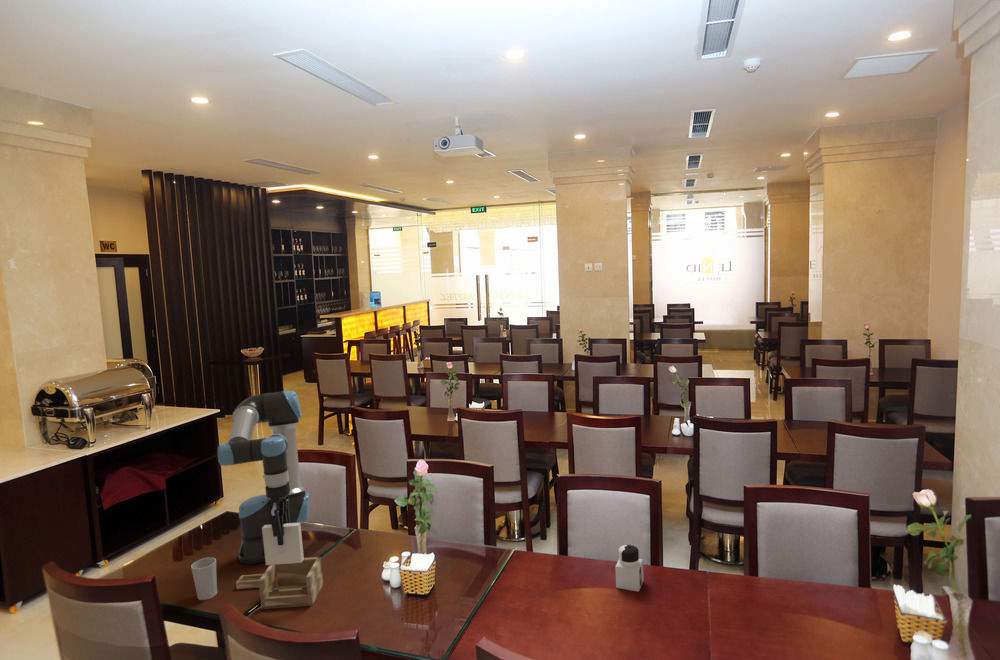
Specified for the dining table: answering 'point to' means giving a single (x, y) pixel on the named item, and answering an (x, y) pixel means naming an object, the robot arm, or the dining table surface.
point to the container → (629, 569)
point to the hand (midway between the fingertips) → (284, 550)
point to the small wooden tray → (248, 581)
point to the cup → (205, 578)
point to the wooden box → (291, 584)
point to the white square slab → (292, 544)
